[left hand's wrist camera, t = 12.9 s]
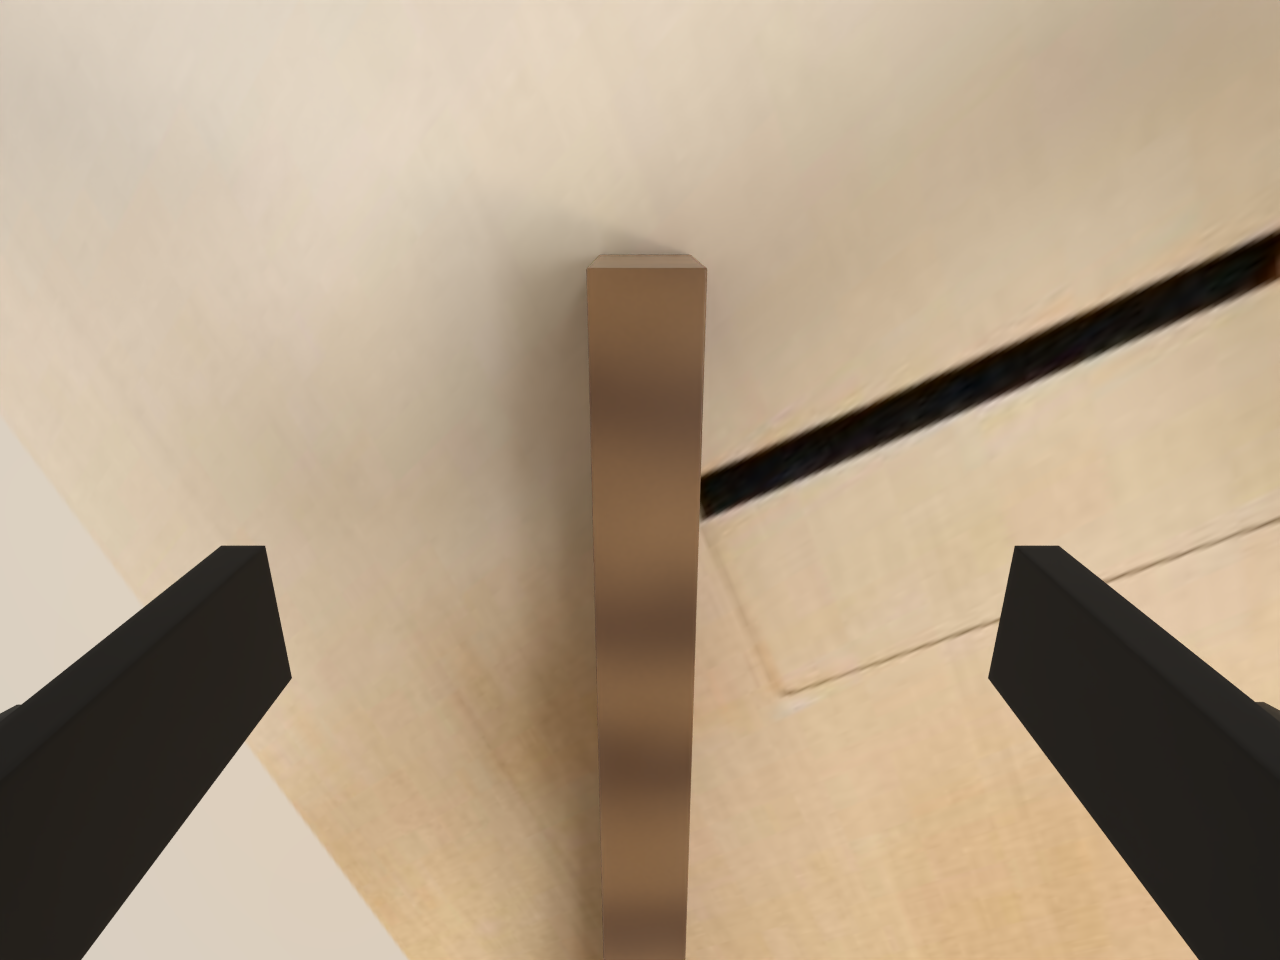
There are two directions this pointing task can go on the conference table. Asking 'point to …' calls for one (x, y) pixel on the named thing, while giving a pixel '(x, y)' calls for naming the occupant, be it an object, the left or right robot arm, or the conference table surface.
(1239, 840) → the left robot arm
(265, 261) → the conference table surface
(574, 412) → the conference table surface
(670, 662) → the beam
